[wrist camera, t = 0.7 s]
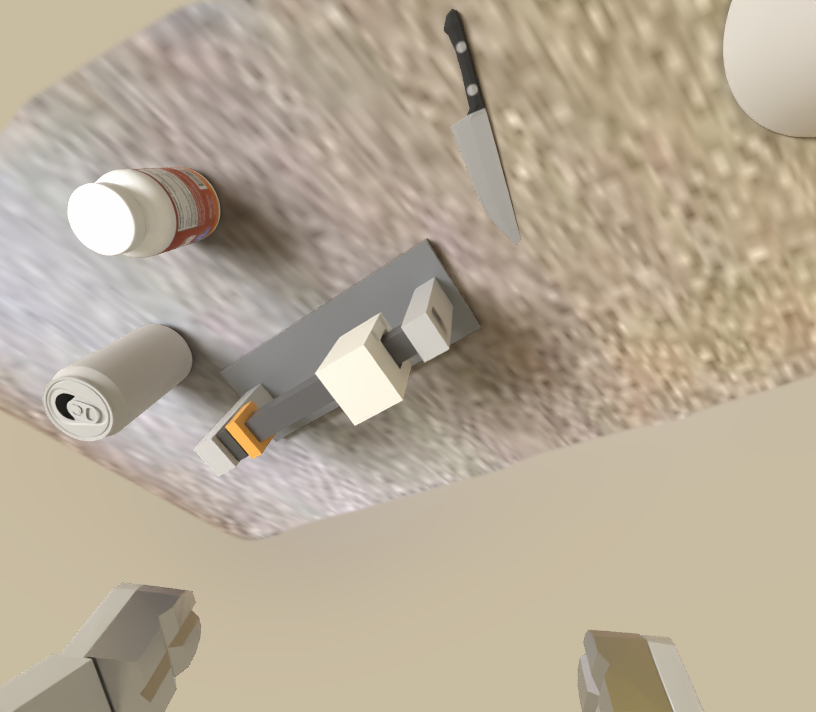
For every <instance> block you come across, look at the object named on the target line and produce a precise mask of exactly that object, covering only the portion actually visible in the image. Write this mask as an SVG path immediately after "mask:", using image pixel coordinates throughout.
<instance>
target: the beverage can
mask: <svg viewBox="0 0 816 712" xmlns="http://www.w3.org/2000/svg"><path fill="white" fill-rule="evenodd" d="M191 368H192V354H191V351H190V348H189V346H188V345H187V343H186V342H185V340H184V339H183V338H182V337H181V336H180V335H179V334H178V333H177V332H175V331H174V330H172V329H171V328H169V327H166V326H163V325H159V324H148V325H144V326H141V327H139V328H138V329H136V330H134V331H132V332H130V333H128V334H126V335H125V336H123V337H121V338H119V339H117V340H115V341H113V342H112V343H110V344H108V345H106V346H104V347H102V348H100V349H99V350H97V351H95V352H93V353H91V354H89V355H87V356H86V357H84V358H82V359H80V360H78V361H76V362H75V363H73V364H71V365H69V366H67V367H65V368H63V369H62V370H60V371H59V372H58V373H57V374H56V375H55V376H54V378H53V380H52V381H51V382H49V383H48V385H47V386H46V387H45V389H44V391H43V396H42V401H43V406H44V409H45V412H46V414H47V416H48V417H49V419H50V420H51V421H52V423H53V424H54V425H55V426H56V427H57V428H58V429H59V430H61V431H62V432H63V433H65V434H67V435H68V436H70V437H72V438H75V439H78V440H82V441H96V440H100V439H102V438H104V437H106V436H111V435H114V434H116V433H118V432H119V431H120V430H122V429H123V428H124V427H125V426H127V425H128V424H129V423H130V422H132V421H133V420H134V419H135V418H136V417H138V416H139V415H140V414H141V413H143V412H144V411H145V410H146V409H148V408H149V407H150V406H151V405H153V404H154V403H155V402H156V401H157V400H159V399H160V398H161V397H162V396H164V395H165V394H166V393H167V392H169V391H170V390H171V389H172V388H174V387H175V386H176V385H177V384H178V383H180V382H181V381H182V380H183V379H185V378H186V377H187V375H188V374H189V373H190V370H191Z"/></svg>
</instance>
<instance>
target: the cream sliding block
mask: <svg viewBox="0 0 816 712" xmlns="http://www.w3.org/2000/svg"><path fill="white" fill-rule="evenodd" d="M391 330H392V328H391V326H390V325H389V323H388V322H387V321H386V319H385V318H384V316H383V315H382V313H381V312H380V313H379V314H377V315H375V316H374V317H372V318H370V319H369V320H367V321H365V322H364V323H362V324H361V325H359V326H357V327H356V328H354V329H352V330H351V331H349V332H347V333H346V334H344V335H342V336H341V337H339V339H338V340H337V342H336V343H335V345H334V346H333V348H332V349H331V351H330V352H329V353H328V355H327V356H326V358H325V359H324V361H323V362H322V364H321V365H320V367H319V368H318V370H317V371H316V372H315V374H316V375H317V377H318V378H319V379H320V381H321V382H322V383H323V385H324V386H325V387H326V389H327V390H328V391H329V393H330V394H331V395H332V396H333V398H334V399H335V400H336V402H337V403H338V404H339V406H340V407H341V408H342V410H343V411H344V412H345V414H346V415H347V416H348V417H349V419H350V420H351V421H352V423H353V424H354V425H357V424H359V423H361V422H363V421H365V420H367V419H369V418H370V417H372V416H374V415H376V414H378V413H380V412H382V411H384V410H385V409H387V408H389V407H391V406H393V405H395V404H397V403H399V402H401V401H402V400H403V398H404V394H405V390H406V386H407V382H408V379H409V375H410V371H411V367H412V363H413V359H412V357H411V358H409V359H408V360H406V361H404V362H402V363H401V364H399V365H397V364H396V363H395V361H394V360H393V358H392V357H391V355H390V354H389V353H388V351H387V350H386V348H385V347H384V345H383V344H382V343H381V341H380V339H381V337H382V335H384V334H386V333H387V332H389V331H391Z"/></svg>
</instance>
